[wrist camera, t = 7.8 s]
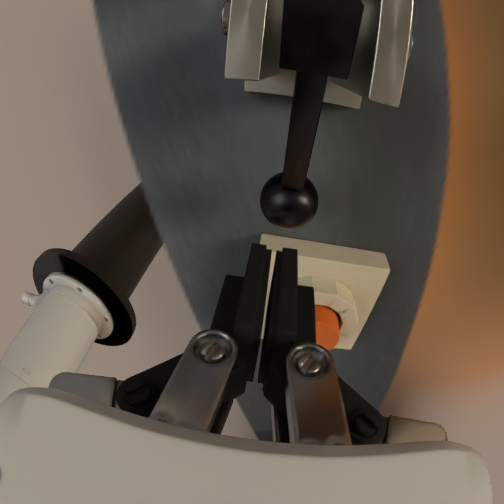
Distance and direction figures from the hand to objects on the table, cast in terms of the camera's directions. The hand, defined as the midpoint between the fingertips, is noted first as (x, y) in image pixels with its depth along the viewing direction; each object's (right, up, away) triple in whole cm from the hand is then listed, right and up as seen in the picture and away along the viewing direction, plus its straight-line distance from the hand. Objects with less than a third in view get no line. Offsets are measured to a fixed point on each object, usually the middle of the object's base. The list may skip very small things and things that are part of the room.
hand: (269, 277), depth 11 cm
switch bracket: (+3, +13, +3) cm, 14 cm away
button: (+4, -4, +11) cm, 13 cm away
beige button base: (+5, -2, +14) cm, 15 cm away
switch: (+2, +7, +1) cm, 8 cm away
